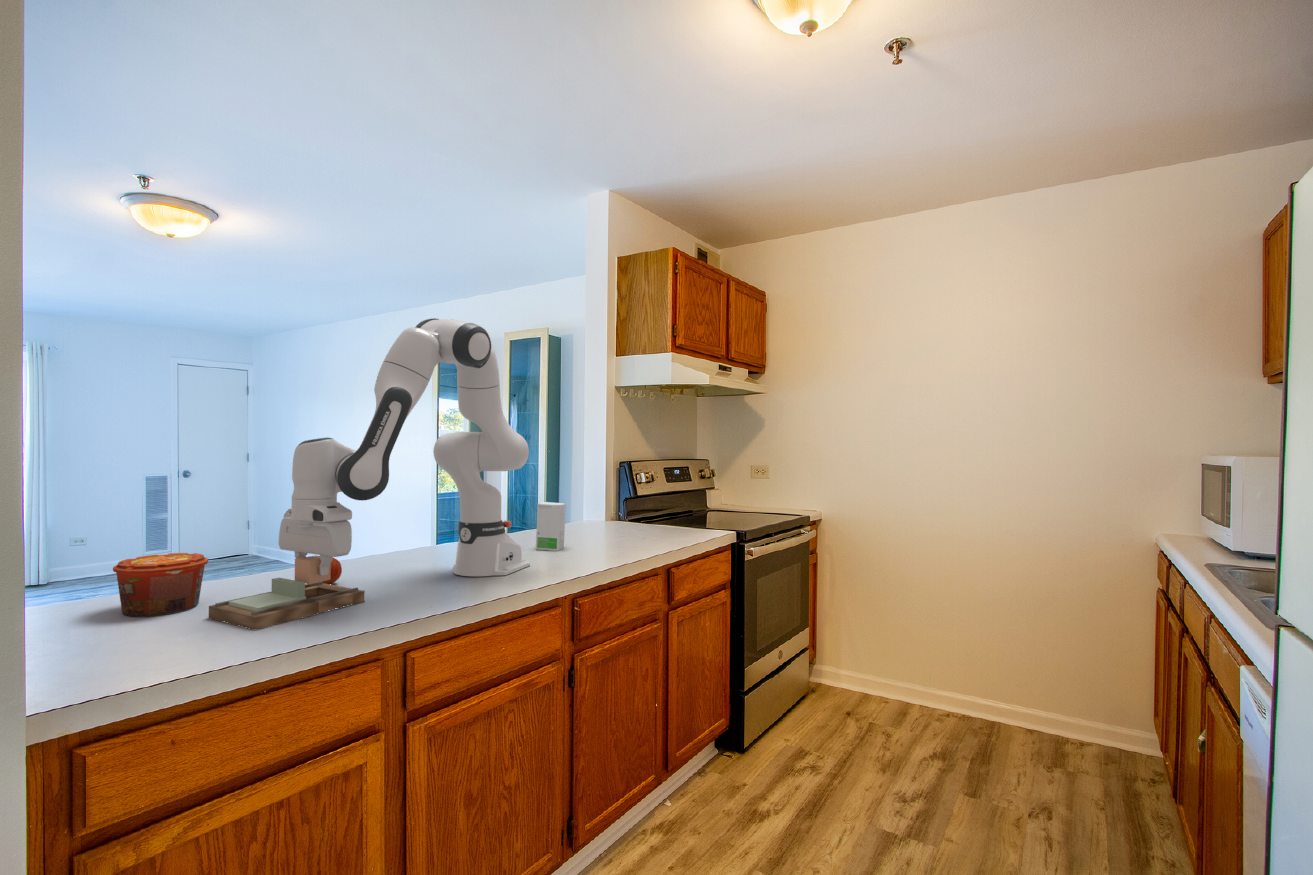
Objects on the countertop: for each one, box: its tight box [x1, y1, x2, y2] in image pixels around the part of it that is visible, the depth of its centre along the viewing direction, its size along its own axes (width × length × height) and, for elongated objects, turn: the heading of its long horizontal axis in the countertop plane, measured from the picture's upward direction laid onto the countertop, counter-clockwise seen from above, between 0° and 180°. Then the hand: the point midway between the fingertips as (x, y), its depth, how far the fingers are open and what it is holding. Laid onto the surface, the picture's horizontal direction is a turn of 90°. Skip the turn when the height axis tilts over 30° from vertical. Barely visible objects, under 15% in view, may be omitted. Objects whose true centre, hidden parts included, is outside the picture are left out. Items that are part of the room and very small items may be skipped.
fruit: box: [323, 557, 343, 585], centre depth 156 cm, size 7×7×8 cm
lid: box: [228, 577, 306, 611], centre depth 130 cm, size 10×10×4 cm
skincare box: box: [535, 501, 567, 552], centre depth 211 cm, size 8×7×16 cm
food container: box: [112, 552, 209, 618], centre depth 133 cm, size 16×16×11 cm
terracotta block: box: [294, 554, 331, 584], centre depth 138 cm, size 5×5×5 cm
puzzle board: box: [208, 581, 365, 630], centre depth 134 cm, size 24×16×3 cm, turn 153°
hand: (313, 573), depth 138 cm, fingers closed on terracotta block, 5 cm apart
